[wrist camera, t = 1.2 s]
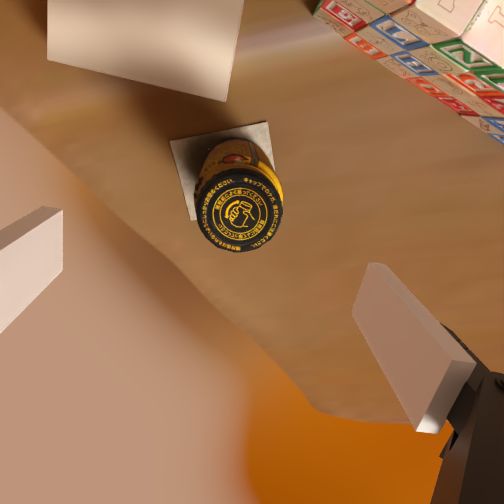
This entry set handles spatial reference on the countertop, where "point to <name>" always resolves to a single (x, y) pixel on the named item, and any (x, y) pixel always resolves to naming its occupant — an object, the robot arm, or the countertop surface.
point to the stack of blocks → (433, 48)
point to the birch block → (149, 40)
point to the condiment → (231, 186)
